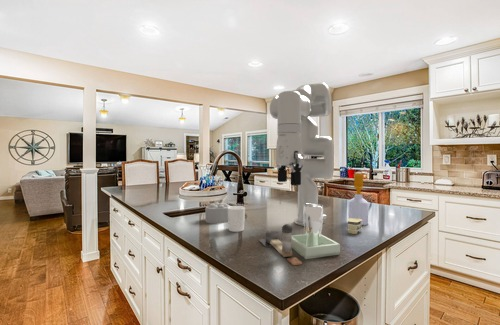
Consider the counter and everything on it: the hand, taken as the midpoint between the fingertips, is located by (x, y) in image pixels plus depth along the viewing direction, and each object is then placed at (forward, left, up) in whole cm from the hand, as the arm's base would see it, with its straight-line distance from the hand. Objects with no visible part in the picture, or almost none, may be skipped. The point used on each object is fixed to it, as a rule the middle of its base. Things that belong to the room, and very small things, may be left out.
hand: (288, 183), depth 83 cm
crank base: (0, -6, -24) cm, 25 cm away
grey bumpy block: (+14, -52, -25) cm, 59 cm away
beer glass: (-11, -4, -24) cm, 27 cm away
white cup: (+9, -34, -24) cm, 43 cm away
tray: (-11, -3, -24) cm, 27 cm away
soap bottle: (-51, -27, -24) cm, 63 cm away
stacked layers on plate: (-40, -16, -25) cm, 49 cm away
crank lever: (0, -7, -24) cm, 25 cm away
